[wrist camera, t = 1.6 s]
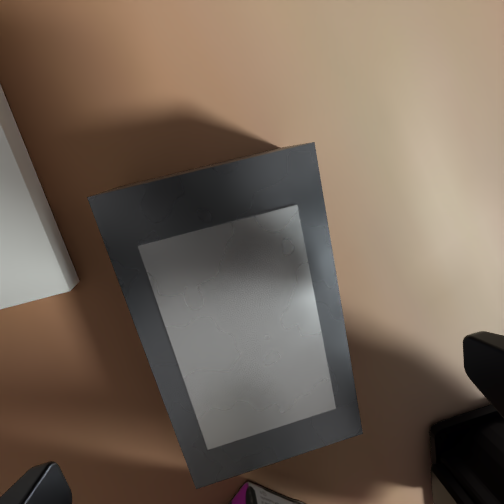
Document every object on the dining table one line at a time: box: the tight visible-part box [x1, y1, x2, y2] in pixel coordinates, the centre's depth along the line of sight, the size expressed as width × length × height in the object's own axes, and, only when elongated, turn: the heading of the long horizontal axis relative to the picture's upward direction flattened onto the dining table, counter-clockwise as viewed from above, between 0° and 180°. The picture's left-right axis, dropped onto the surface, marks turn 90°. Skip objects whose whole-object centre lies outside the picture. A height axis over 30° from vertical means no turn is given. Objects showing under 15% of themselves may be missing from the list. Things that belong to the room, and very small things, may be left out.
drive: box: [87, 142, 363, 489], centre depth 12 cm, size 6×10×4 cm, turn 13°
